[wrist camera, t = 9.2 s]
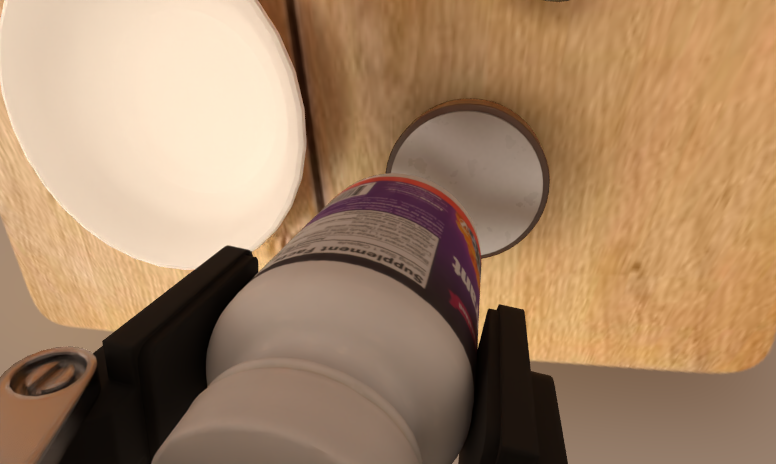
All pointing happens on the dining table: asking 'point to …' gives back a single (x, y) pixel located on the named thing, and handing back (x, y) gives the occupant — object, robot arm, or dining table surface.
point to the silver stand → (479, 166)
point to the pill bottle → (348, 340)
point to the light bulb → (556, 0)
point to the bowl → (157, 120)
